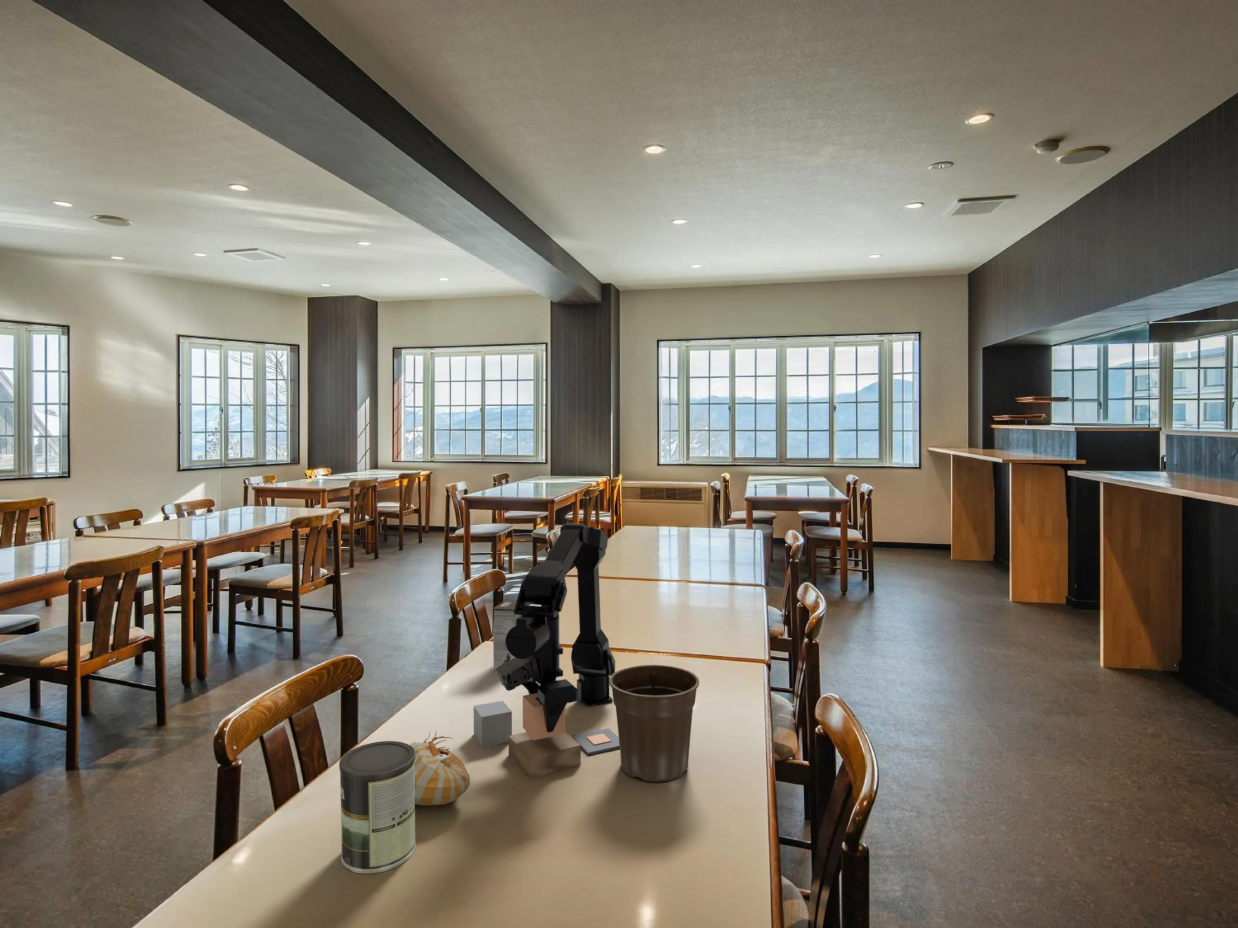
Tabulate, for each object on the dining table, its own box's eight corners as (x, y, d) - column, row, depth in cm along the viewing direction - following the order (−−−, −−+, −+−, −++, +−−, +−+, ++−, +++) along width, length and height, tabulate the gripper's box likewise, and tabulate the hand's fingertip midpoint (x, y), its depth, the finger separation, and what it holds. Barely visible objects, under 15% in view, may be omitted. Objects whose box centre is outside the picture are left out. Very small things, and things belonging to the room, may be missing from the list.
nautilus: (412, 760, 129) (492, 767, 128) (361, 817, 107) (455, 827, 106) (415, 717, 129) (494, 724, 128) (364, 766, 107) (458, 775, 106)
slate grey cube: (502, 729, 141) (502, 700, 141) (512, 741, 136) (511, 711, 135) (473, 735, 138) (473, 705, 138) (481, 747, 133) (481, 716, 133)
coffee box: (505, 658, 184) (505, 599, 183) (528, 660, 183) (528, 600, 182) (492, 670, 175) (492, 607, 174) (516, 672, 174) (516, 609, 173)
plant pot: (595, 754, 130) (595, 670, 129) (672, 739, 136) (672, 659, 136) (631, 797, 115) (631, 701, 114) (715, 777, 121) (716, 687, 121)
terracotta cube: (553, 721, 132) (553, 690, 131) (564, 733, 126) (564, 701, 126) (522, 727, 129) (522, 695, 129) (533, 740, 124) (533, 707, 123)
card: (608, 730, 140) (608, 726, 140) (626, 746, 133) (626, 742, 133) (571, 737, 137) (571, 734, 137) (588, 755, 130) (588, 751, 130)
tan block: (557, 744, 135) (557, 724, 135) (580, 766, 126) (580, 744, 126) (508, 756, 130) (508, 735, 130) (529, 780, 121) (529, 757, 121)
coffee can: (330, 876, 94) (328, 775, 94) (353, 832, 105) (351, 741, 104) (408, 872, 95) (406, 772, 95) (422, 829, 106) (421, 739, 105)
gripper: (486, 633, 132) (487, 714, 133) (517, 663, 115) (517, 755, 116) (542, 626, 137) (542, 703, 137) (579, 654, 120) (579, 742, 121)
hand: (543, 724), depth 128 cm, fingers closed on terracotta cube, 6 cm apart
